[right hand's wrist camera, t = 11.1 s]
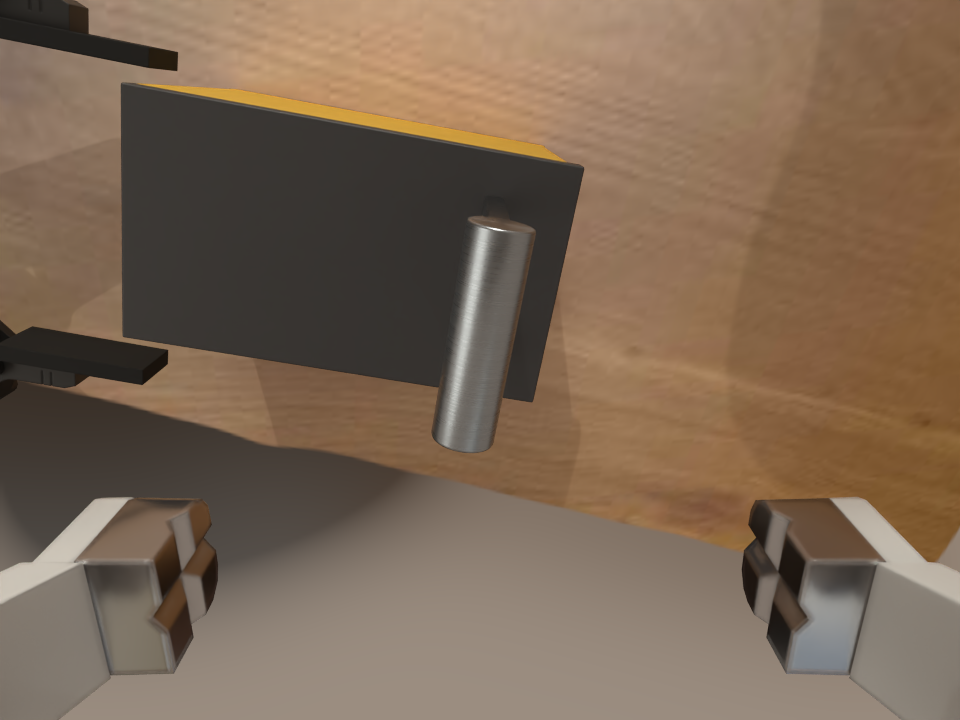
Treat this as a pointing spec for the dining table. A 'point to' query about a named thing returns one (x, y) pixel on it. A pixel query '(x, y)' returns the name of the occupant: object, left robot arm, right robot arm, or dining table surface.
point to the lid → (343, 249)
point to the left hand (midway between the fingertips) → (160, 225)
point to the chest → (368, 120)
